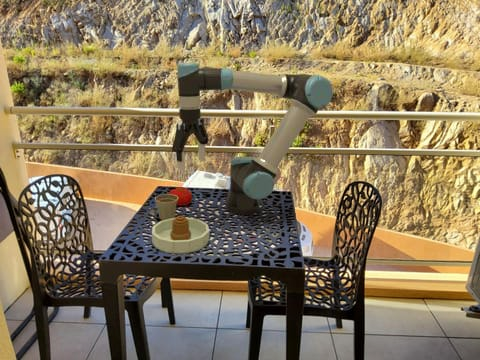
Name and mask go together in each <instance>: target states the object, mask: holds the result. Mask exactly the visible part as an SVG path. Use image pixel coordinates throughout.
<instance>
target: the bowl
mask: <svg viewBox="0 0 480 360" xmlns="http://www.w3.org/2000/svg"><path fill="white" fill-rule="evenodd" d="M175 218H176V217H175ZM175 218H171V219H167V220H160V221H159V222H157V223H155V225H153V226H152V227H151V228H152V230H151V243H152V245H153V247H154V248H155V249H157V250H159V251H160V252H163V251H164V253H168V254H176V255H177V254H180V255H181V254H188V253H190V254H191V253H195V252H197V251H200V250H201V249H203V248H205V247H206V246H207V245H208V243H209V240H210V229H209V225H208V224H207V223H206V222H204V221H202V220H201V219H197V218H191V217H185V218H186V219H188V221H189V230H190V232H191V237H190V238H189V239H188V240H173V239H172V238H171V237H170V233H171V231H172V221H173V220H174V219H175Z"/></svg>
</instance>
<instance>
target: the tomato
mask: <svg viewBox="0 0 480 360" xmlns="http://www.w3.org/2000/svg"><path fill="white" fill-rule="evenodd" d="M168 194H172V195H176V196H178V200H177V203H176V206H183V207H184V206H188V205H189V204H191V203H192V200H193V195H192V193H191V191H190V190H189V189H188V188H185V187H183V186H179V187H176V188H175V189H171V190H170V191H169V192H168Z"/></svg>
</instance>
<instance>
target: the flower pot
mask: <svg viewBox="0 0 480 360" xmlns="http://www.w3.org/2000/svg"><path fill="white" fill-rule="evenodd" d="M177 200H178V196H176V195H172V194H169V193H165V194H159V195H157V196H155V197H154V201H155V204H156V205H157V211H158V217H159V219H160V221H163V220H167V219H171V218H176V209H177V205H176V203H177Z"/></svg>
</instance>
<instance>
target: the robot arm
mask: <svg viewBox="0 0 480 360" xmlns="http://www.w3.org/2000/svg"><path fill="white" fill-rule="evenodd" d="M176 76H177V77H176V78H177V88H178V89H177V91H178V107H179V109H178V111H179V120H182V121H181V123H177V124H176V125H175V128H176V130H175V135H174V140H173V143H172V147H171V151H172V152H174V153H175V154H176V162H177V163H176V164H177V170H179V171H186V165H185V163H186V161H185V152H184V150H185V146H186V144H187V142H188V140H189V137H190V136H191V135H194V137H195V138H196V139H197V141H198V144H197V152H198V161H199V162H200V161H201V162H206V145H208V144H209V141H210V140H209V137H208V133H207V130H206V126H205V124H204V123H205V122H204V119H203V118H202V117H201V116H202V115H201V113H202V112H201V109H200V107H201V91H224V90H231V91H238V92H239V91H241V92H249V93H258V94H267V95H276V96H277V97H278V98H279V99H280V98H281V99H282V98H283V99H287V100H289V102H290V105H289V108H288V110H287V111H286V112H285V114H284V115H283V117H282V119H281V121H280V122H279V124H278V125H277V127H276V128H275V130H274V131H273V133H272V135H270V136H271V137H270V138H269V139H268V141H267V142H266V144H265V146H264V148H263V149H262V151H261V152H260V153H259V155H258V156H257V157H254V156H236V157H232V158H231V159H230V160H231V161H230V175H229V176H230V177H229V181H230V182H229V193H228V195H227V198H226V200H225V209H226V210H227V211H228V212H231V213H233V214H237V215H239V214H240V215H248V214H255V213H257V212H259V210H260V207H261V206H260V204H261V203H260V201H259V200H263V199H266V198H268V197H269V196H270V195H271V194H272V192H273V191H274V188H275V178H276V177H277V176H278V167H279V165H280V163H281V162H282V160H283V159H284V157H285V156H286V154H287V153H288V151H289V149H290V148H291V146H292V145H293V144H294V141H296V138H297V137H298V135H299V134H300V132H301V131H302V129H303V128H304V126H305V124H306V123H307V122H308V120H309V118H310V117H314V116H316V115H317V114H318V112H319V110H320V109H322V108H325V107H327V106H328V105H329V104H330V102H331V101H332V99H333V94H334V90H333V86H332V82H331V81H330V80H329V79H328V78H327V77H325V76H322V75H319V74H307V73H299V74H298V73H297V74H291V73H290V74H289V73H281V74H280V75H276V74H275V75H274V74H268V73H267V74H266V73H259V72H258V73H257V72H250V71H242V70H233V69H231V68H228V67H227V68H226V67H219V68H218V67H212V66H211V67H210V66H203V67H200V65H199V63H198V62H180V63H178V64H177V75H176Z"/></svg>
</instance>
